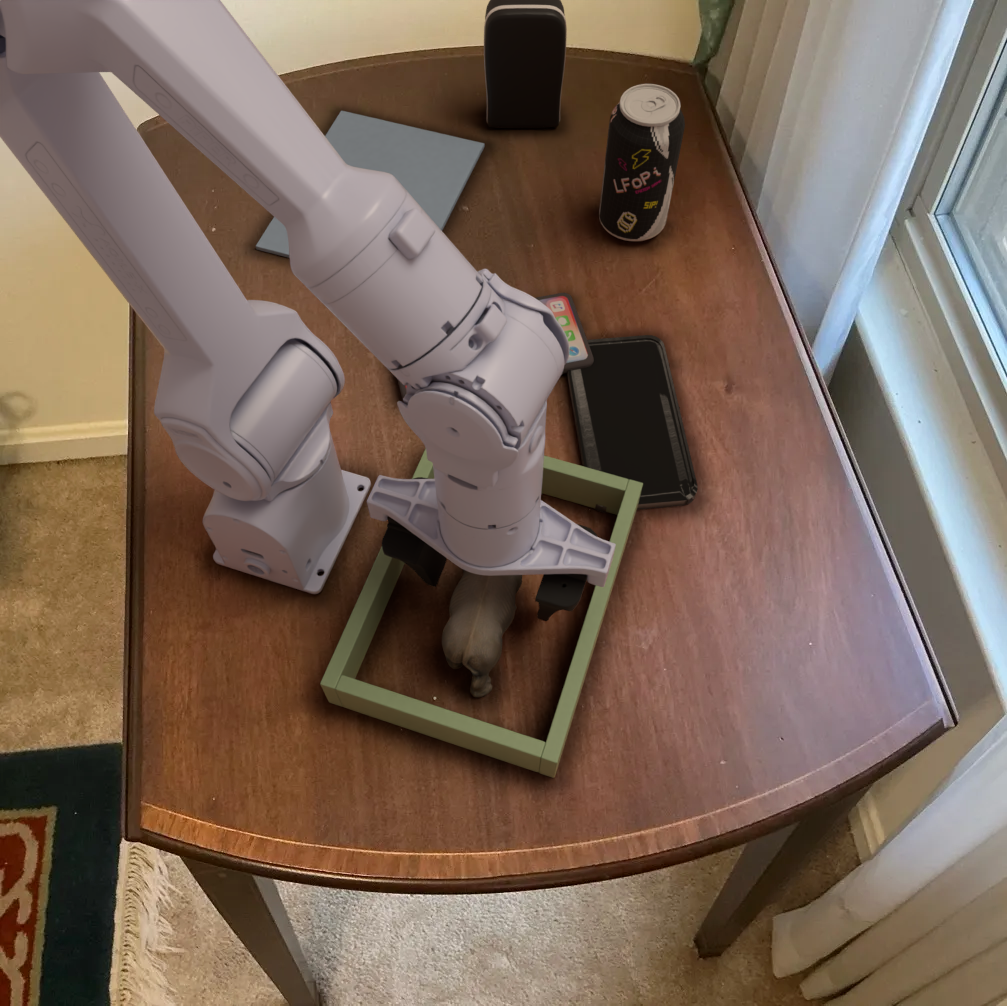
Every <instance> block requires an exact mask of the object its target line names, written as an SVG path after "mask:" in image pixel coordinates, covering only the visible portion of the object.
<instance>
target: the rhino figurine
mask: <svg viewBox="0 0 1007 1006" xmlns="http://www.w3.org/2000/svg"><path fill="white" fill-rule="evenodd" d="M522 583H523V575H495V576H488V575H479V574H474V573H471V572H468V571H466V570H464V569H462V576H461V578H460V579H459V581H458V583H457V584H456V587H455V588H454V590H453V591H452V595H451V598H450V601H449V606H448V607H449V609H448V611H449V613H448V614H449V619H448V620H447V622H446V624H445V626H444V627H443V630H442V633H441V634H442V635H441V647H442V650H443V653H444V655H445V661H446V662H447V664H448V666H449V667H450V668H451V669H453V670H459V669H461V668H462V667H463V666H464V667H465V668H466V669H468V671H470V673H471V675H472V677H471V682H470V683H471V684H470V688H469V692H470V695H472V697H474V698H482V697H485V696H487V695H488V694H489V693H490V692H492V691H493V685H492V678H491V677H490V676H489V674H490V672H491V671H492V670H493V669H494V668H495V667H496V665H497V664H498V662H499V660H500V659H501V656H502V651H503V636H504V634H505V632H506V631H507V630H508V628H510V626H511V624H512V623H513V620H514V619H515V615H516V610H517V605H516V603H517V602H516V601H517V599H516V598H517V597H516V595H517V594H518V593H519V591H520V589H521V586H522Z"/></svg>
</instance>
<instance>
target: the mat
mask: <svg viewBox="0 0 1007 1006" xmlns="http://www.w3.org/2000/svg"><path fill="white" fill-rule="evenodd" d="M324 136H325V137H326V139H327V140H328V141H329V142H330V144H331V145H332V146H333V148H334V149H335V150H336V152H337V153H338V154H339V155H340V157H341V158H342V159H343V161H344V162H345V163H346V164H347V165H350V166H352V167H357V168H363V169H368V170H375V171H381V172H386V173H389V174H392V175H393V176H394V177H395V178H396V179H397V180H398V181H399V182H400V183H401V185H402V186H403V187H404V188H405V189H406V190H407V192H408V193H409V194H410V195H411V196H412V197H413V198H414V200H415V201H416V202H417V203H418V204H419V205H420V206H421V208H422V209H423V210H424V211H425V212H426V213H427V215H428V216H429V217H430V218H431V219H432V220H433V221H434V223H435V224H436V225H437V226H438V227H439V228H440V229H441V231H442V232H443V231H444V228H445V226H446V224H447V222H448V220H449V218H450V217H451V214H452V212H453V211H454V208H455V206H456V205H457V202H458V200H459V199H460V197H461V195H462V192H463V191H464V188H465V187H466V184H467V183H468V181H469V179H470V176H471V174H472V173H473V170H474V169H475V167H476V165H477V164H478V161H479V159H480V158H481V155H482V153H483V151H484V149H485V148H486V147H485V146H486V145H485V142H480V141H475V140H471V139H467V138H462V137H458V136H455V135H451V134H445V133H441V132H437V131H433V130H427V129H425V128H424V129H423V128H419V127H416V126H415V127H414V126H410V125H406V124H402V123H398V122H393V121H388V120H384V119H381V118H376V117H371V116H367V115H363V114H359V113H354V112H350V111H345V110H340V112H339V114H338V115H337V116H336V118H335V120H334V121H333V122H332V124H331V126H330V127H329V129H328V131H327V132H326V133H325V134H324ZM255 249H256V250H258V251H261V252H265V253H268V254H269V253H270V254H273V255H277V256H281V257H285V258H289V259H290V256H289V242H288V235H287V230H286V228H285V226H284V225H283V224H282V223H281V222H280V221H279V220H277V219H276V218H275V217H274V216H273V218H272V220H271V221H270V222H269V223H268V225H267V227H266V229H265V231H264V232H263V233H262V235H261V237H260V238H259V240H258V241H257V243H256V244H255Z"/></svg>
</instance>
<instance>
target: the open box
mask: <svg viewBox="0 0 1007 1006" xmlns="http://www.w3.org/2000/svg"><path fill="white" fill-rule="evenodd" d="M417 477H423V478H428V479H434V470H433V463H432V462H431V461H429V460H428V459H427V452H426V447H425V448H424V450H423V453H422V455H421V457H420V460H419V462H418V464H417V466H416V468H415V471H414V472H413V475H412V477H411V479H414V478H417ZM642 486H643V483H641V482H637V481H634V480H630V479H626V478H623V477H619V476H616V475H612V474H608V473H605V472H601V471H598V470H594V469H591V468H587V467H584V466H582V465H579V464H576V463H573V462H570V461H566V460H565V461H564V460H562V459H558V458H555V457H551V456H547V455H545V454H544V463H543V478H542V491H541V494H542V495H546V496H550V497H553V498H557V499H560V500H564V501H567V502H571V503H575V504H578V505H582V506H584V507H589V508H592V509H594V508H595V507H596V504H598V505H601V506H605V507H607V508H606V512H605V513H608V514H613V515H616V519H615V522H614V525H613V528H612V532H611V535H610V538H609V542H612V543H615V544H616V546H615V551H614V555H613V560H612V563H611V566H610V570H609V573H608V576H607V579H606V582H605V586H604V587H600V586H597V585H594V589H593V593H592V595H591V598H590V601H589V604H588V608H587V611H586V614H585V617H584V621H583V624H582V627H581V630H580V633H579V637H578V639H577V642H576V645H575V648H574V652H573V655H572V658H571V661H570V664H569V668H568V671H567V673H566V677H565V681H564V683H563V686H562V687H563V688H562V689H561V693H560V696H559V699H558V703H557V705H556V709H555V712H554V715H553V718H552V722H551V724H550V728H549V731H548V733H547V736H546V741H544V740H541V739H538V738H535V737H532V736H529V735H525V734H523V733H520V732H516V731H515V730H510V729H507V728H504V727H502V726H499V725H495V724H492V723H489V722H486V721H483V720H480V719H477V718H475V717H471V716H468V715H465V714H462V713H459V712H456V711H453V710H451V709H447V708H444V707H441V706H439V705H438V706H437V705H435V704H432V703H429V702H427V701H423V700H420V699H417V698H413V697H411V696H407V695H404V694H403V693H399V692H396V691H392V690H390V689H386V688H384V687H380V686H377V685H374V684H372V683H368V682H366V681H362V680H359V679H356V677H357V675H358V673H359V670H360V668H361V666H362V663H363V661H364V660H365V657H366V654H367V652H368V650H369V647H370V645H371V643H372V640H373V638H374V636H375V634H376V631H377V629H378V626H379V624H380V622H381V620H382V617H383V615H384V613H385V610H386V607H387V606H388V603H389V601H390V599H391V597H392V594H393V592H394V589H395V587H396V585H397V582H398V580H399V579H400V576H401V573H402V571H403V568H404V567H405V565H406V564H405V563H404V562H402V561H400V560H398V559H395V558H392V557H389V556H386V555H384V552H383V549H382V545H381V546H380V548H379V551H378V553H377V556H376V558H375V560H374V562H373V564H372V566H371V570H370V571H369V573H368V576H367V578H366V580H365V582H364V584H363V587H362V589H361V592H360V593H359V596H358V598H357V600H356V602H355V605H354V607H353V609H352V611H351V612H350V613H351V614H350V616H349V618H348V620H347V622H346V624H345V627H344V629H343V631H342V633H341V636H340V638H339V641H338V643H337V644H336V647H335V649H334V652H333V654H332V656H331V658H330V661H329V663H328V665H327V667H326V669H325V672H324V674H323V676H322V677H321V680H320V683H319V685H320V687H321V689H322V691H323V693H324V695H325V697H326V699H327V701H328V703H329V704H333V705H335V706H338V707H343V708H345V709H347V710H351V711H353V712H357V713H359V714H363V715H365V716H368V717H371V718H374V719H377V720H380V721H383V722H387V723H389V724H392V725H395V726H399V727H401V728H404V729H408V730H411V731H413V732H416V733H418V734H422V735H425V736H428V737H431V738H434V739H437V740H439V741H443V742H446V743H448V744H451V745H455V746H457V747H461V748H463V749H467V750H470V751H473V752H476V753H478V754H482V755H484V756H488V757H490V758H493V759H497V760H499V761H502V762H506V763H508V764H511V765H514V766H516V767H517V766H518V767H520V768H523V769H527V770H529V771H531V772H532V771H533V772H536V773H539V774H541V775H543V776H547V777H549V778H553V779H555V778H556V774H557V772H558V768H559V765H560V762H561V758H562V755H563V753H564V749H565V745H566V742H567V739H568V735H569V732H570V730H571V726H572V722H573V719H574V716H575V713H576V709H577V705H578V703H579V700H580V696H581V693H582V689H583V686H584V685H585V684H584V683H585V680H586V677H587V673H588V671H589V667H590V663H591V661H592V658H593V653H594V650H595V648H596V644H597V640H598V638H599V634H600V632H601V631H600V630H601V627H602V624H603V621H604V618H605V615H606V611H607V608H608V605H609V602H610V598H611V595H612V591H613V588H614V586H615V582H616V579H617V575H618V572H619V568H620V565H621V562H622V559H623V556H624V554H625V550H626V546H627V543H628V541H629V540H628V539H629V536H630V533H631V529H632V526H633V524H634V519H635V516H636V514H637V507H638V503H639V499H640V495H641V491H642Z"/></svg>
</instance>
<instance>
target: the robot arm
mask: <svg viewBox="0 0 1007 1006" xmlns="http://www.w3.org/2000/svg"><path fill="white" fill-rule="evenodd" d="M101 73H111V74H113V75H114V77H116V79H118V80H119V81H120V82H121V83H122V84H123V85H125V86H126V87H127V88H128V89H129V90H130V91H132V92H133V93H134V94H135V95H136V96H137V97H138V98H139V99H141V100H142V101H143V102H144V103H145V104H146V105H147V106H148V107H150V109H152V110H153V111H154V112H156V114H157V115H159V116H160V117H161V118H162V119H163V120H164V121H165V122H167V123H168V124H169V125H170V126H171V127H172V128H174V129H175V131H176V132H178V133H179V134H180V135H182V137H183V138H185V139H186V140H187V142H189V143H190V144H192V146H194V147H195V148H196V149H197V150H198V151H199V152H201V154H202V155H204V156H205V157H206V158H207V159H208V160H209V161H211V162H212V163H213V164H214V165H215V166H216V167H218V168H219V169H220V170H221V171H222V172H223V174H225V175H226V176H227V177H229V178H230V179H231V180H232V181H233V182H234V183H236V184H237V186H239V187H240V188H241V189H242V190H243V191H245V192H246V194H248V195H249V196H250V197H251V198H252V199H254V201H256V202H257V203H258V204H259V205H260V206H261V207H263V208H264V209H265V210H266V211H267V212H268V213H269V214H271V216H273V218H274V217H275V218H276V219H277V220H279V221H280V222H281V223H282V224H283V225H284V226H285V228H286V230H287V235H288V242H289V256H290V258H289V265H290V270H291V273H292V274H293V275H294V276H295V277H296V278H297V279H298V280H299V281H300V282H301V284H303V286H305V288H306V289H308V291H310V293H311V294H312V295H314V297H315V298H317V299H318V300H319V301H320V303H322V305H323V306H325V307H326V309H327V310H328V311H330V312H331V313H332V315H333V316H334V317H335V318H336V319H337V320H338V321H339V322H340V323H341V324H342V325H344V326H345V328H346V329H347V330H348V331H349V332H350V333H351V334H352V335H353V336H354V337H355V338H356V339H357V340H358V341H359V342H360V343H361V344H362V345H363V346H364V347H365V348H366V349H367V350H368V351H369V352H370V353H371V354H372V355H373V356H374V357H375V358H376V359H377V360H378V361H379V362H380V363H381V364H382V365H383V366H384V368H386V369H387V371H389V373H390V372H391V374H392V375H393V376H394V377H395V378H396V379H397V381H398V380H399V381H400V382H401V383H402V384H403V385H405V386H407V387H406V392H407V394H406V395H405V397H404V398H402V401H401V400H398V401H397V402H396V405H397V409H398V411H399V413H400V416H401V417H402V419H403V420H404V422H405V423H406V425H407V426H408V427H409V428H410V430H411V431H412V432H413V433H414V434H415V435H416V436H417V437H418V439H420V441H421V442H422V444H423V446H424V447H425V448H426V452H427V459H428V460H429V461H431V462H432V463H433V470H434V479H428V478H423V477H417V478H414V479H412V478H396V477H390V476H387V475H382V474H378V476H377V478H376V480H375V482H374V485H373V487H372V483H371V479H370V478H369V477H368V476H364V475H361V474H358V473H354V472H350V471H347V470H344V469H342V468H341V465H340V461H339V458H338V453H337V450H336V447H335V443H334V439H333V435H332V432H331V427H330V422H331V418H332V417H333V415H334V410H333V405H332V400H334V399H335V398H337V396H339V395H340V394H341V393H342V391H343V390H344V387H345V384H346V378H345V373H344V371H343V368H342V366H341V364H340V362H339V360H338V358H337V356H336V355H335V354H334V352H333V351H332V350H331V348H330V347H329V346H328V345H327V344H326V343H325V342H324V341H322V340H321V339H320V338H319V337H318V336H317V335H316V334H314V333H313V332H312V331H311V330H310V329H309V327H308V326H307V325H306V323H304V321H303V320H302V319H301V316H300V315H299V313H298V312H297V310H295V309H292V308H290V307H288V306H285V305H283V304H280V303H277V302H273V301H268V300H264V299H263V300H261V299H247V298H246V296H245V295H244V292H242V290H241V289H240V287H239V286H238V284H237V283H236V281H235V279H234V278H233V276H232V274H231V273H230V271H229V270H228V268H227V267H226V266H225V264H224V263H223V261H222V258H220V256H219V255H218V253H217V251H216V250H215V249H214V247H213V246H212V244H211V242H210V241H209V239H208V238H207V236H206V235H205V233H204V232H203V230H202V228H201V227H200V225H199V224H198V223H197V221H196V219H195V218H194V216H193V215H192V213H191V211H190V210H189V209H188V207H187V205H186V203H185V202H184V200H182V198H181V196H180V195H179V192H178V191H177V190H176V189H175V187H174V185H173V184H172V182H171V180H170V179H169V178H168V176H167V175H166V173H165V172H164V170H163V168H162V167H161V165H160V164H159V161H157V159H156V158H155V156H154V155H153V153H152V151H151V150H150V148H149V147H148V145H147V144H146V141H144V139H143V138H142V136H141V134H140V133H139V131H138V129H136V126H135V125H134V124H133V122H132V121H131V119H130V118H129V116H128V115H127V113H126V111H125V110H124V108H123V106H122V105H121V104H120V102H119V101H118V99H117V98H116V96H115V94H114V92H113V91H112V89H111V88H110V87H109V85H108V83H107V81H106V80H105V79H104V78H103V76H102V74H101ZM0 139H1V140H2V141H3V142H4V144H5V145H6V146H7V148H8V149H9V151H10V152H11V153H12V155H13V156H14V157H15V158H16V159H17V161H18V162H19V163H20V165H21V166H22V167H23V168H24V170H25V171H26V172H27V174H28V175H29V176H30V178H31V179H32V180H33V181H34V183H35V184H36V186H37V187H38V188H39V189H40V191H41V192H42V193H43V195H44V196H45V197H46V198H47V200H48V201H49V202H50V204H51V205H52V206H53V207H54V209H55V210H56V211H57V212H58V214H59V215H60V217H61V218H62V219H63V220H64V222H65V223H66V224H67V225H68V228H70V230H71V231H72V232H73V233H74V235H75V236H76V237H77V239H78V240H79V241H80V242H81V244H82V245H83V246H84V247H85V249H86V250H87V251H88V253H89V254H90V256H91V257H92V258H93V259H94V261H95V262H96V263H97V265H98V266H99V267H100V268H101V269H102V271H103V272H104V273H105V274H106V277H108V279H109V280H110V281H111V282H112V284H113V285H114V286H115V288H116V289H117V291H119V293H120V294H121V296H122V297H123V298H124V300H126V302H127V303H128V304H129V306H130V307H131V308H132V310H133V311H134V312H135V314H136V315H137V316H138V317H139V318H140V320H141V321H142V322H143V324H144V325H145V327H146V328H147V329H148V330H149V331H150V333H151V334H152V336H153V337H154V338H155V339H156V341H157V342H158V343H159V345H160V346H161V347H162V348H163V352H164V353H163V361H162V366H161V370H160V376H159V380H158V385H157V390H156V395H155V401H154V407H153V414H154V417H156V418H157V420H158V421H159V422H160V424H161V426H162V428H163V429H164V431H165V432H166V434H167V435H168V437H169V438H170V440H171V442H172V445H173V447H174V452H175V454H176V456H177V457H178V460H179V461H180V463H182V465H183V466H184V467H185V468H186V469H187V470H188V471H189V472H190V473H191V474H192V475H193V476H195V478H197V479H198V480H200V481H201V482H202V483H203V484H205V485H206V486H208V487H209V488H211V489H212V490H213V493H212V497H211V500H210V501H209V504H208V506H207V508H206V510H205V512H204V514H203V517H202V525H203V527H204V529H205V532H207V535H208V537H209V538H210V540H211V542H212V544H213V545H214V547H215V550H214V552H213V555H212V558H213V561H214V562H215V564H217V565H220V566H223V567H225V568H230V569H233V570H236V571H240V572H242V573H246V574H248V575H252V576H255V577H258V578H262V579H264V580H267V581H270V582H273V583H276V584H279V585H283V586H286V587H289V588H292V589H295V590H296V589H297V590H299V591H302V592H305V593H308V594H311V595H318V594H319V593H321V592H322V590H323V589H324V586H325V585H326V582H327V580H328V578H329V576H330V574H331V571H332V570H333V567H334V566H335V564H336V561H337V559H338V557H339V556H340V553H341V550H342V548H343V546H344V544H345V542H346V540H347V538H348V535H349V533H350V532H351V530H352V527H353V525H354V523H355V522H356V519H357V516H358V514H359V513H360V511H361V508H362V507H363V504H364V503H365V499H366V498H367V499H366V505H367V509H368V513H369V517H370V519H374V520H378V521H380V522H387V523H386V530H385V532H384V533H383V536H382V539H381V546H382V549H383V552H384V555H386V556H389V557H392V558H395V559H398V560H400V561H402V562H404V563H405V564H404V565H406V566H407V567H409V568H410V569H411V570H412V571H413V572H415V573H416V574H417V576H418V577H419V578H420V579H421V580H422V581H423V583H425V584H426V585H427V586H430V587H434V588H437V586H438V584H439V582H440V579H441V577H442V576H441V575H442V574H443V571H444V569H445V566H446V563H447V560H448V561H450V562H451V563H453V564H454V565H455V566H457V567H458V568H460V569H461V570H463V569H464V570H466V571H468V572H471V573H474V574H479V575H488V576H495V575H522V576H528V575H529V576H531V575H542V578H541V581H540V583H539V585H538V586H539V587H538V589H537V592H536V595H535V598H534V602H536V603H538V609H537V610H538V611H537V614H536V619H537V620H539V621H543V622H549V620H550V618H551V616H553V615H554V614H555V613H556V612H559V611H566V612H573V611H574V610H575V609H576V608H577V606H578V605H579V604H580V601H581V600H582V596H583V593H584V590H585V588H586V587H585V586H586V584H587V583H589V584H591V585H593V586H595V585H597V586H600V587H604V586H605V582H606V579H607V576H608V573H609V570H610V566H611V563H612V560H613V555H614V551H615V546H616V544H615V543H612V542H609V541H610V540H609V541H608V540H606V539H604V538H601V537H598V534H597V533H596V532H595V530H593V529H592V528H591V527H588V526H585V525H582V524H578V523H576V522H574V521H573V520H571V519H570V518H568V517H567V516H566V515H564V514H563V513H561V512H560V511H559V510H557V509H556V508H553V506H551V505H550V504H548V503H547V502H545V501H543V500H542V493H541V491H542V478H543V463H544V455H545V449H546V448H545V447H546V425H547V424H546V422H547V410H548V409H547V408H548V400H549V397H550V395H551V394H552V392H553V390H554V388H555V387H556V385H557V383H558V381H559V379H561V376H562V375H563V374H562V372H563V369H564V365H565V364H566V362H567V360H568V357H569V343H568V339H567V336H566V334H565V332H564V330H563V328H562V327H561V325H560V324H559V323H558V321H557V320H556V318H555V316H554V314H553V312H552V311H551V310H550V309H549V308H548V307H547V306H545V305H544V304H543V303H541V302H540V301H539V300H537V299H536V297H534V296H532V295H531V294H529V293H528V292H525V291H523V290H521V289H518V288H515V287H514V286H511V285H509V284H508V283H506V282H505V281H503V280H502V279H501V278H500V276H499V275H498V274H497V273H496V272H494V273H492V272H491V271H490V270H489V269H488V268H482V269H480V270H477V269H476V268H475V267H474V266H473V265H472V264H471V262H469V260H468V259H467V258H466V257H465V255H464V254H463V253H462V252H461V251H460V250H459V248H457V246H456V245H455V244H454V243H453V242H452V241H451V240H450V239H449V237H448V236H447V235H446V234H445V233H444V231H443V230H442V231H441V229H440V228H439V227H438V226H437V225H436V224H435V223H434V221H433V220H432V219H431V218H430V217H429V216H428V215H427V213H426V212H425V211H424V210H423V209H422V208H421V206H420V205H419V204H418V203H417V202H416V201H415V200H414V198H413V197H412V196H411V195H410V194H409V193H408V192H407V190H406V189H405V188H404V187H403V186H402V185H401V183H400V182H399V181H398V180H397V179H396V178H395V177H394V176H393V175H392V174H389V173H386V172H381V171H375V170H368V169H363V168H357V167H352V166H350V165H347V164H346V163H345V162H344V161H343V159H342V158H341V157H340V155H339V154H338V153H337V152H336V150H335V149H334V148H333V146H332V145H331V144H330V142H329V141H328V140H327V139H326V137H325V134H324V133H323V132H322V131H321V129H320V128H319V126H318V125H317V124H316V122H315V121H314V120H313V119H312V118H311V116H310V115H309V114H308V113H307V111H306V110H305V108H304V107H303V106H302V105H301V103H300V102H299V100H298V99H297V98H296V97H295V96H294V94H293V93H292V92H291V90H290V89H289V88H288V86H287V85H286V84H285V83H284V81H283V80H282V79H281V77H280V76H279V75H278V74H277V72H276V70H275V69H274V68H273V67H272V65H271V64H270V63H269V62H268V60H267V59H266V57H264V55H263V54H262V53H261V51H260V50H259V49H258V47H257V46H256V45H255V43H254V42H253V40H252V39H251V38H250V37H249V35H248V34H247V33H246V32H245V30H244V29H243V27H242V26H241V25H240V24H239V23H238V21H237V20H236V19H235V17H234V16H233V14H231V12H230V11H229V10H228V8H227V7H226V5H225V4H224V3H223V2H222V0H0ZM371 487H372V489H371ZM359 489H363V490H359ZM370 489H371V491H370ZM369 491H370V492H369ZM368 493H369V496H368V497H367V495H368ZM321 572H323V574H321V575H318V574H320V573H321Z"/></svg>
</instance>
